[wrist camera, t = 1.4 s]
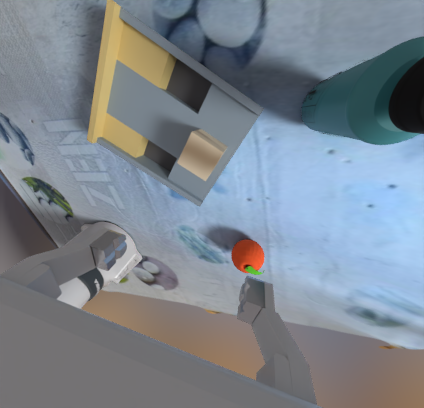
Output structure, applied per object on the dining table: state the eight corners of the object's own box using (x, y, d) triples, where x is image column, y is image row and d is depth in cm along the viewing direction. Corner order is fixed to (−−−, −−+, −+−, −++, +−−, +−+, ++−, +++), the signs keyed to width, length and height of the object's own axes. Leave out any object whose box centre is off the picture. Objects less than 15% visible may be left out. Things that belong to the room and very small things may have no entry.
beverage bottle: (326, 137, 26) (469, 181, 9) (287, 120, 26) (356, 132, 9) (359, 90, 23) (679, 19, 6) (314, 71, 23) (503, -58, 6)
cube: (212, 171, 30) (205, 181, 25) (187, 155, 29) (176, 162, 25) (227, 146, 27) (223, 152, 23) (201, 128, 27) (191, 131, 22)
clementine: (273, 246, 38) (278, 272, 32) (253, 262, 41) (254, 288, 35) (245, 227, 37) (243, 250, 31) (227, 245, 41) (222, 269, 34)
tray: (262, 109, 26) (264, 108, 22) (204, 197, 36) (198, 209, 31) (133, 17, 24) (107, -3, 20) (107, 136, 34) (86, 139, 30)
